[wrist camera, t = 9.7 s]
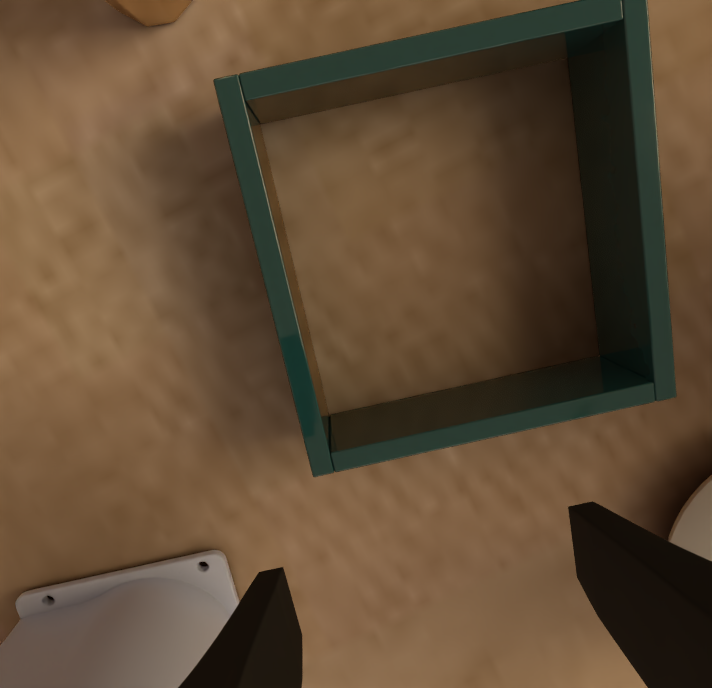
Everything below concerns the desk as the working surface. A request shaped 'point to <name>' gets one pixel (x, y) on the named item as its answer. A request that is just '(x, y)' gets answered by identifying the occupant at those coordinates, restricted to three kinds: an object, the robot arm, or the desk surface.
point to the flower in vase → (695, 522)
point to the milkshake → (151, 10)
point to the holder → (601, 207)
